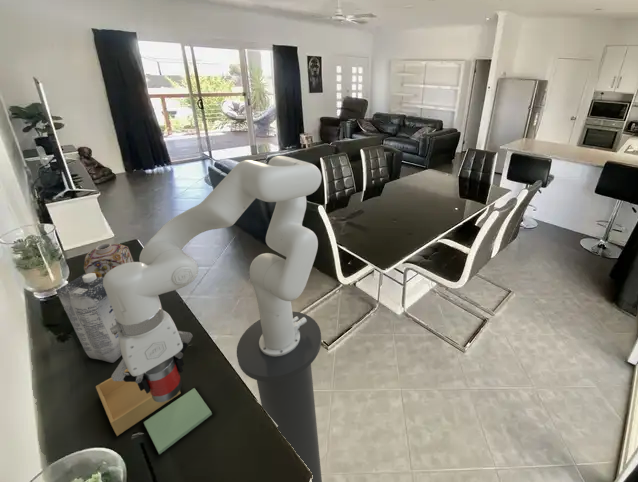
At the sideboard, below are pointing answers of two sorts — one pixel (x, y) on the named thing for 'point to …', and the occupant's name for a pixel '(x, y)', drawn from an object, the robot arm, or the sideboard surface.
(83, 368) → the sideboard surface
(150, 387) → the can
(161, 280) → the robot arm
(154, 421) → the mat
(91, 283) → the juice carton
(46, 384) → the sideboard surface
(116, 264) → the decorative jar
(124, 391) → the open wooden box
